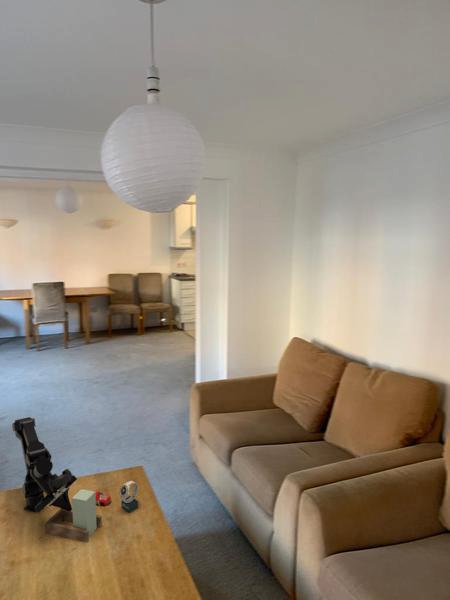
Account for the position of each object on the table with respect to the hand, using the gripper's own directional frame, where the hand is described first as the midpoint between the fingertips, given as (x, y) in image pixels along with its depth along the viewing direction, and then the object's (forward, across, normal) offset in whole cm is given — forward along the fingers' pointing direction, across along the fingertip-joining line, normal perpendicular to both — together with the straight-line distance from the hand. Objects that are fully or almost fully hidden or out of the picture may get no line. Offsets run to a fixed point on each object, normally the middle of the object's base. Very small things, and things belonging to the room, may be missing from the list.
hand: (71, 510), depth 162 cm
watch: (+16, +18, -5) cm, 25 cm away
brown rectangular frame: (+6, 0, +5) cm, 8 cm away
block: (+10, 0, +1) cm, 10 cm away
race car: (+5, +18, +6) cm, 20 cm away
